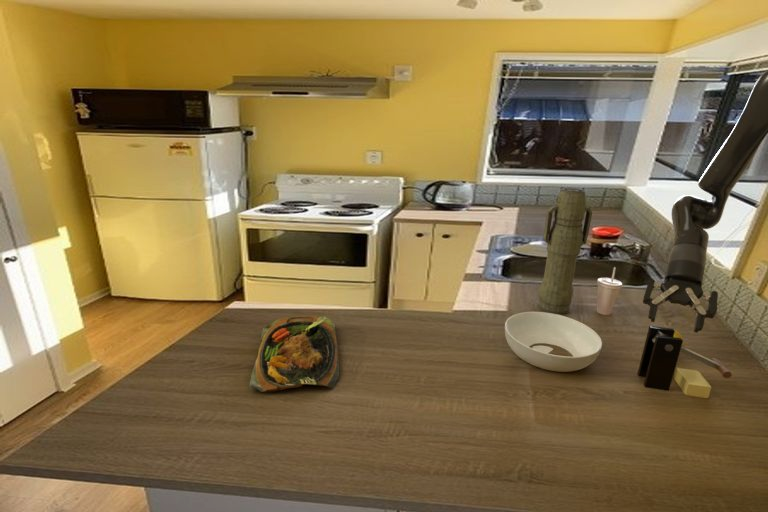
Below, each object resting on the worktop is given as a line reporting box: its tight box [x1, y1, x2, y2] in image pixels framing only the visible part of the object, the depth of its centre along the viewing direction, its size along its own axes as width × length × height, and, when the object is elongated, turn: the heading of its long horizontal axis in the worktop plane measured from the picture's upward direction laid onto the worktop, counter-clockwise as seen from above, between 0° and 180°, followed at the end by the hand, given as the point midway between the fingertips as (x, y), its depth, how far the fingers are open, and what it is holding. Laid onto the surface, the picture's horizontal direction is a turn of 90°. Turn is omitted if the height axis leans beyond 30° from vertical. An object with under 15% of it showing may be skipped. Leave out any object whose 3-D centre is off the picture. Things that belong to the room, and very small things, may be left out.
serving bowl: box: [504, 311, 603, 373], centre depth 98 cm, size 21×21×7 cm
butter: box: [673, 367, 712, 399], centre depth 87 cm, size 6×9×4 cm, turn 166°
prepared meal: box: [248, 316, 340, 393], centre depth 97 cm, size 28×4×18 cm
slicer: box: [637, 325, 684, 392], centre depth 87 cm, size 8×9×13 cm
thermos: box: [537, 187, 593, 315], centre depth 120 cm, size 9×12×35 cm
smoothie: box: [596, 266, 623, 316], centre depth 121 cm, size 6×6×14 cm
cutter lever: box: [652, 331, 732, 379], centre depth 85 cm, size 14×5×2 cm, turn 75°
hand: (674, 325), depth 98 cm, fingers open, 8 cm apart
